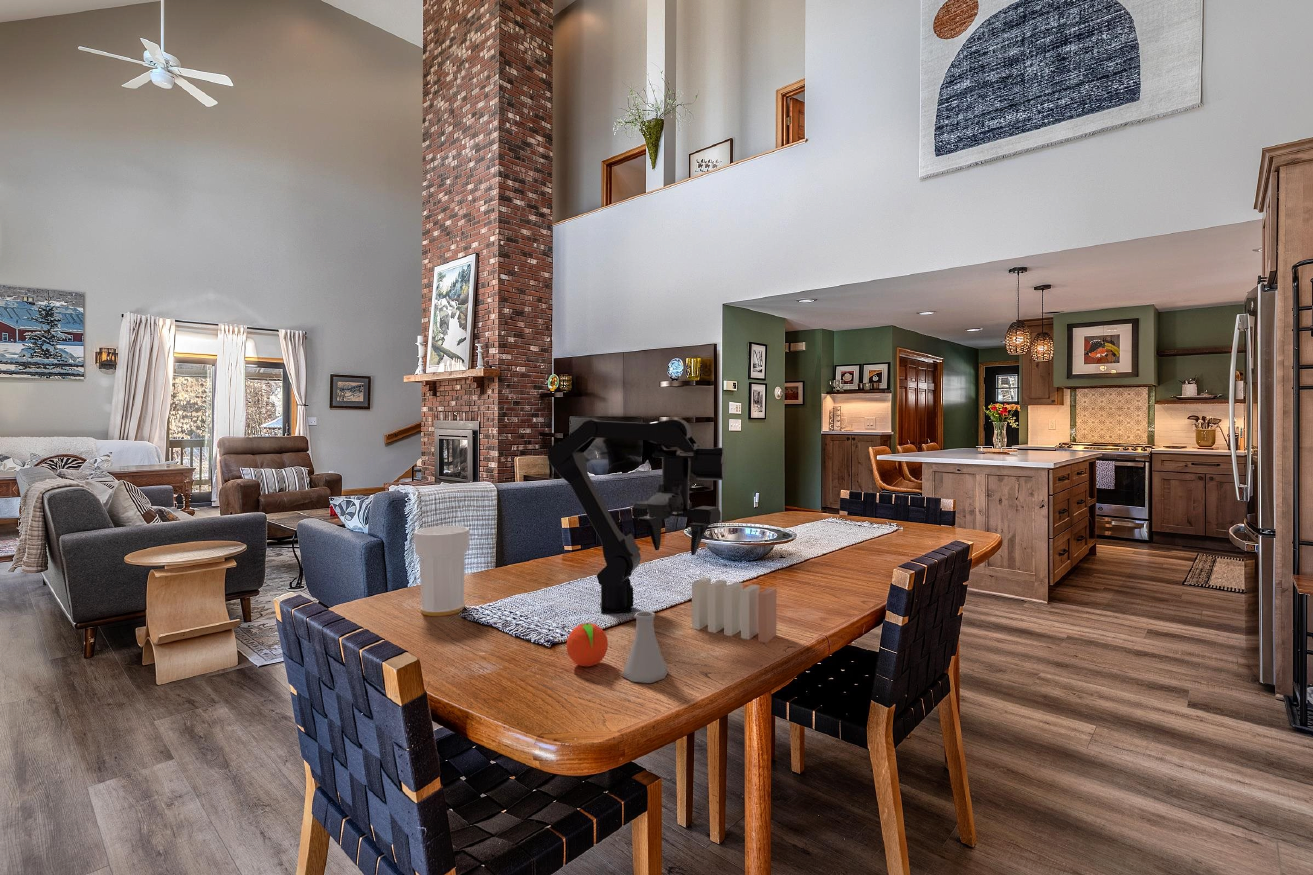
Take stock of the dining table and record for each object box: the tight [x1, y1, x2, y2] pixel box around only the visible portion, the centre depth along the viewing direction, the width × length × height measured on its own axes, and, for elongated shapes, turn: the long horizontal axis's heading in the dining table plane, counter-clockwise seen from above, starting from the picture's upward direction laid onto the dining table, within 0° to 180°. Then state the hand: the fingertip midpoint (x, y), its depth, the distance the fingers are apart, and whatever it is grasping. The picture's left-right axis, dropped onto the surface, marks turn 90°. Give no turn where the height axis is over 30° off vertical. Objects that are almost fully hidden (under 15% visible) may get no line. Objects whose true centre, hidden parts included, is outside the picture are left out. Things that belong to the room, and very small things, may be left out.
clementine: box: [566, 622, 609, 667], centre depth 106 cm, size 8×7×7 cm
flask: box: [621, 610, 669, 684], centre depth 103 cm, size 7×7×10 cm
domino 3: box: [723, 581, 744, 637], centre depth 123 cm, size 2×5×9 cm, turn 148°
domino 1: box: [691, 577, 712, 631], centre depth 127 cm, size 2×5×9 cm, turn 148°
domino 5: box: [757, 586, 778, 644], centre depth 119 cm, size 2×5×9 cm, turn 148°
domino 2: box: [707, 579, 728, 634], centre depth 125 cm, size 2×5×9 cm, turn 148°
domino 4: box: [740, 584, 760, 640], centre depth 121 cm, size 2×5×9 cm, turn 148°
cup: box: [413, 525, 470, 617], centre depth 138 cm, size 11×11×17 cm
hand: (674, 552), depth 135 cm, fingers open, 8 cm apart
